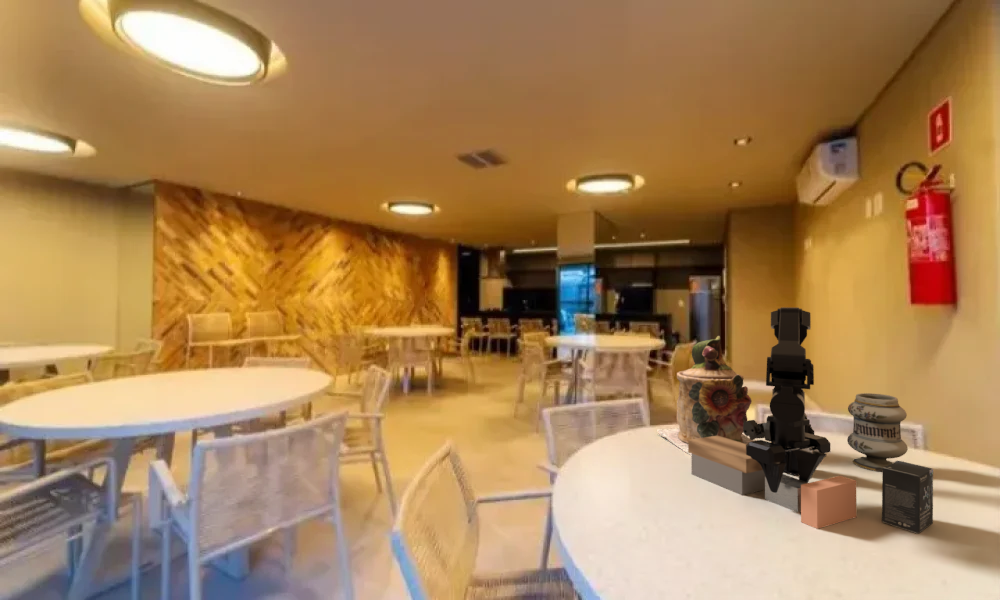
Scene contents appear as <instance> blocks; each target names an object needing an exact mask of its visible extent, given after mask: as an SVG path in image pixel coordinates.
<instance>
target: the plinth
mask: <svg viewBox="0 0 1000 600" xmlns="http://www.w3.org/2000/svg"><path fill="white" fill-rule="evenodd" d="M691 475H692V476H695V477H698V478H699V479H702V480H704V481H707V482H710V483H712V484H715V485H717V486H719V487H722V488H724V489H726V490H729V491H732V492H734V493H736V494H739V495H741V496H745V495H748V494H752V493H756V492H762V491H765V474H764V471H763V470H760V471H755V472H750V473H744V472H741V471H738V470H736V469H733V468H730V467H727V466H725V465H722V464H719V463H716V462H714V461H711V460H708V459H706V458H703V457H700V456H697V455H695V454H692V456H691Z"/></svg>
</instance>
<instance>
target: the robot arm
mask: <svg viewBox="0 0 1000 600" xmlns="http://www.w3.org/2000/svg"><path fill="white" fill-rule="evenodd" d="M811 322H812V321H811V312H810V311H806V310H803V308H800V307H789V306H788V307H787V306H786V307H785V306H784V307H783V306H782V307H780V308H777V310H774V311H771V312H770V328H771V330H773V331H774V333H773V335H774V337H775V338H776V340H777V344H775V345H774V346H772V347H771V350H770V351H771V352H770V356H767V358H766V374H765V376H766V377H765V386H767V387H773V388H772V391H771V392H772V397H771V399H770V402H769V410H770V412H771V414H772V415H768V416H767V417H766V422H762V423H758V422H757V421H756V419H750V420H747V421H744V423H743V433H742V434H744V435H745V436H747V437H748V438H750V440H754V441H751V442H749V443H748V444H747V445H746V455H748V456H750V457H751V458H752V459H754V460H756V461H757V462H758V463H759V464H760V465H761V467H762V469H763V471H764V474H765V477H766V479H767V482H768V485H769V488H770V490H771V491H772V492H774V493H777V491H778V488H779V485H780V482H781V478H782V475H783V474H784V473H786V474H790V475H792V476H798V479H799V480H802V481H805V482H808V483H809V482H810V480H811V478H812V477H813V475H814V473H815V472H816V470H817V468H818V466H819V465H820V463H821V462H822V460H823V459H824V458H825V457H827V453H831V442H830V441H829V439H828V438H827V437H825V436H820V435H816V434H815V430H814V429H813V427H812V424H811V421H810V420H811V419H808V415H807V414H806V413H805V411H806V407H805V406H806V405H805V400H806V399H805V397H806V396H805V395H806V394H805V393H806V392H805V391H804V390H811V386H813V385H815V384H814V383H815V380H814V378H815V376H814V375H815V372H814V369H815V367H814V363H812V360H811V359H810V358H807V357H806V355H807V351H806V348H805V347H804V346H802V344H803V343H804V341H805V339H806V338H807V337H808V331H809V330H811V327H812V326H811V325H812V324H811ZM805 381H806V383H805ZM755 439H757V440H755ZM758 439H759V440H758ZM762 439H764V440H762Z"/></svg>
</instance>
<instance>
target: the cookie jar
mask: <svg viewBox="0 0 1000 600" xmlns="http://www.w3.org/2000/svg"><path fill="white" fill-rule="evenodd" d="M720 341H721V336H720V335H717V336H716V337H715V338H714V339H713V338H712V339H706V340H702V341H699V342H697V343H695V344H694V345H693V346H692V349H691V357H692V360H693V362H694V364H693V366H691V368H688V369H685V370H681V371H678V372H676V378H677V380H678V382H679V385H678V398H677V400H676V401H677V402H676V406H677V407H676V409H677V411H676V422H677V424H678V427H679V428H670V429H669V428H665V429H664V428H657V429H656V431H657V433H658V434H659V435H660V437H662V438H664V439H666V440H667V441H669V443H671V444H673V445H674V446H676V447H677V448H679V449H680V450H681V451H683V452H685V453H686V454H687V455H689V454H690V456H691V455H692V453H689V452H688V440H691V439H698V438H704V437H711V436H721V437H724V438H728V439H731V440H734V441H738V442H741V443H744V444H748V443H749V442H751V441H755V439H754V440H750V437H749V436H746V435H745V434H744V433H743V423H744V421H748V417H747V416H748V415H747V412H748V410H749V409H750V406H751V404H752V398H751V396H750V395H748V392H749V391H748V390H749V388H748V387H747V386H743V385H744V375H742V374H738V373H737V372H736V371H734V370H733V368H731V366H729V365H727V363H726V362H725V360H724V356H723V354H722V352H723V351H722V348H721V344H720Z"/></svg>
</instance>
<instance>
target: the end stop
mask: <svg viewBox="0 0 1000 600" xmlns="http://www.w3.org/2000/svg"><path fill="white" fill-rule="evenodd" d="M854 518H857V480H855V479H852V478H848V477H846V476H842V475H837V476H833V477H828V478H825V479H820V480H816V481H811V482H808V483H807V484H802V485H801V512H800V522H801V523H803V524H805V525H808V526H810V527H812V528H813V529H818V530H819V529H821V528H824V527H828V526H832V525H834V524H838V523H841V522H844V521H849V520H850V519H851V520H852V519H854Z"/></svg>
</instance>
